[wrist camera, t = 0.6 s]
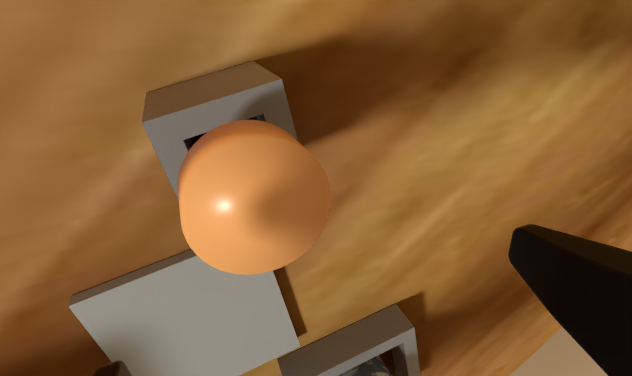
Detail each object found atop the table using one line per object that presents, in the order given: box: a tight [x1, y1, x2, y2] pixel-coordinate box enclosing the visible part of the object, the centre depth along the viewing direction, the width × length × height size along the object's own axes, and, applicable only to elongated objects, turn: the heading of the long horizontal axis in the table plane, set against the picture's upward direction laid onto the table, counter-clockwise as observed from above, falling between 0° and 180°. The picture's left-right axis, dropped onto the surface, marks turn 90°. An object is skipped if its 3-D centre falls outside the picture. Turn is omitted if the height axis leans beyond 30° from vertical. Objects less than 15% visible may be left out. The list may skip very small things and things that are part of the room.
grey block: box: [142, 61, 298, 200], centre depth 17 cm, size 5×5×5 cm
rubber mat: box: [68, 249, 300, 376], centre depth 23 cm, size 10×10×1 cm
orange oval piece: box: [178, 120, 331, 275], centre depth 14 cm, size 4×4×6 cm
